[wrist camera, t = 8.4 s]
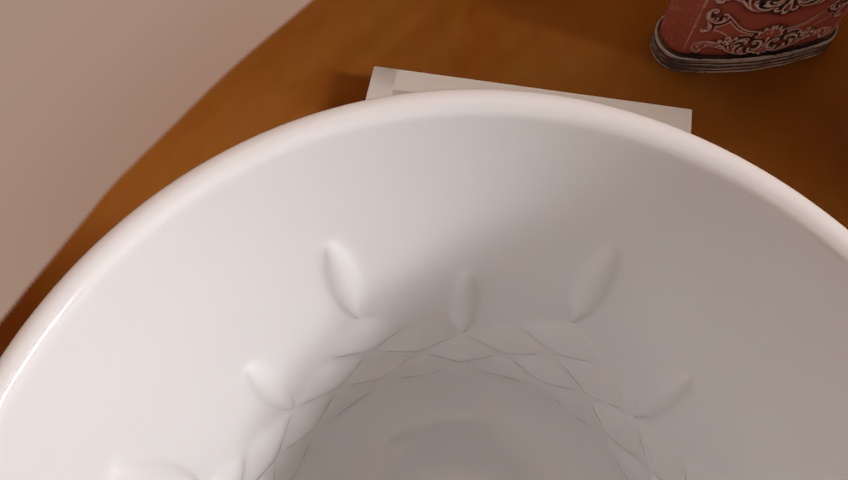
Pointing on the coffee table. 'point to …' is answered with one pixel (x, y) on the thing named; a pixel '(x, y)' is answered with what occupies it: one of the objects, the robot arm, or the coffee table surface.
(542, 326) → the white cup
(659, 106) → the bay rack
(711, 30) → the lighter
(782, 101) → the coffee table surface
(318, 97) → the coffee table surface
